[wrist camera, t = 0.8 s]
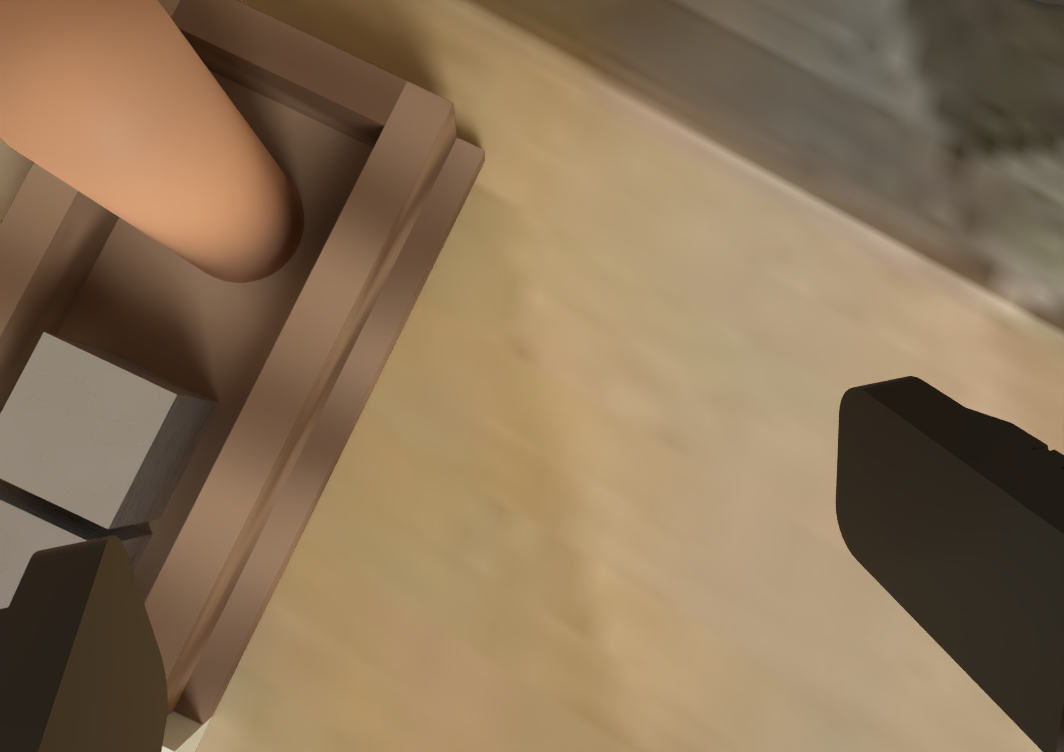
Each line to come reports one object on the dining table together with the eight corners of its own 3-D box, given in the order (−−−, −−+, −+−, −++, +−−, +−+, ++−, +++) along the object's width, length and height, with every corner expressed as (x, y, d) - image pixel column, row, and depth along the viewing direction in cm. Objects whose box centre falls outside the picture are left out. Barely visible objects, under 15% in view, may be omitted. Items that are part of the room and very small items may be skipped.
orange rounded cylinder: (213, 139, 30) (32, -67, 18) (325, 192, 30) (218, 21, 18) (155, 249, 30) (-68, 112, 18) (269, 303, 30) (122, 202, 18)
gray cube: (35, 478, 29) (-37, 482, 25) (152, 533, 29) (99, 546, 25) (-27, 597, 29) (-110, 620, 25) (91, 654, 29) (28, 685, 25)
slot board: (161, 6, 32) (114, -58, 28) (484, 160, 32) (484, 117, 28) (-132, 553, 30) (-229, 568, 26) (212, 715, 30) (169, 756, 26)
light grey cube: (103, 348, 30) (43, 331, 26) (218, 403, 30) (177, 394, 26) (43, 464, 29) (-28, 465, 25) (160, 519, 29) (108, 529, 25)
